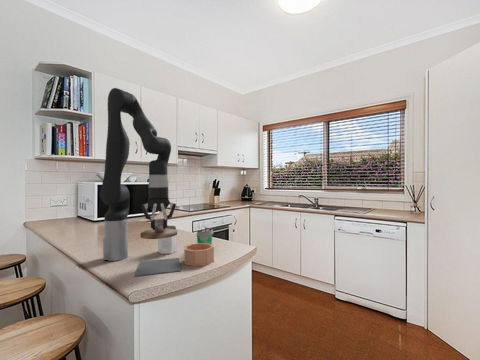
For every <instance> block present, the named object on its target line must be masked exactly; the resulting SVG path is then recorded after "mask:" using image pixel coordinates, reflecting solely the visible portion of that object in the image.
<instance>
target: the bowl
mask: <svg viewBox="0 0 480 360" xmlns="http://www.w3.org/2000/svg"><path fill="white" fill-rule="evenodd" d="M214 251H215V249H214V245H213V243H212V244H206V243H191V244H187V245H185V246H183V252H184V253H183V260H184V265H187V266H192V267H198V266H199V267H200V266H201V267H202V266H207V265H209V264H211V263H213V262H214V261H215V254H214V253H215V252H214Z"/></svg>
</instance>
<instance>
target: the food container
mask: <svg viewBox="0 0 480 360" xmlns="http://www.w3.org/2000/svg"><path fill="white" fill-rule="evenodd" d="M213 234H214V230H213V228H211V227H204V229H203V230H201V231H196V237H197V238H196V239H197V240H196V242H197V243H206V244H212V245H213V242H212V241H213ZM197 243H196V244H197Z"/></svg>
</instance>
